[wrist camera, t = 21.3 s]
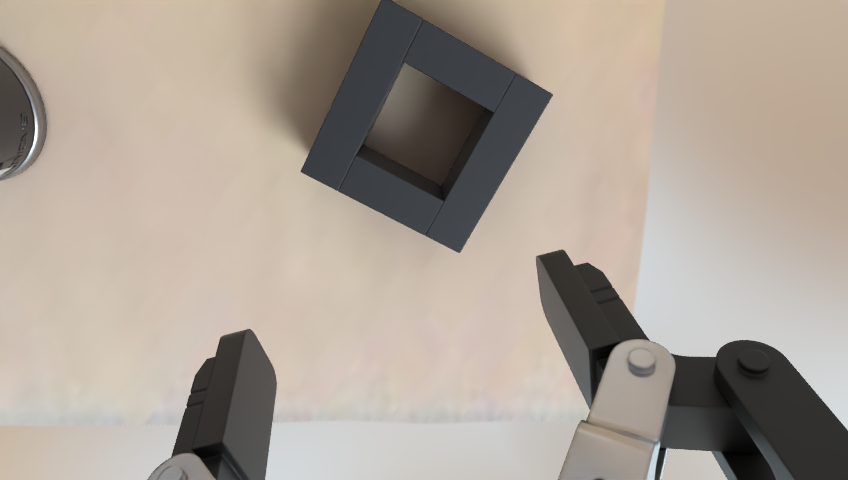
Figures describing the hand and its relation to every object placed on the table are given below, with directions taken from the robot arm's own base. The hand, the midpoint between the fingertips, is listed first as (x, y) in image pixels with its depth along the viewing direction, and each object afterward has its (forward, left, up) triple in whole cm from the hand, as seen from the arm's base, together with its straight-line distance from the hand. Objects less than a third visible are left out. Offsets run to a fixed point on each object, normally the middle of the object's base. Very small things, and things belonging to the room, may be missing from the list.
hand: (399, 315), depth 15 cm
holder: (-1, +3, -23) cm, 23 cm away
